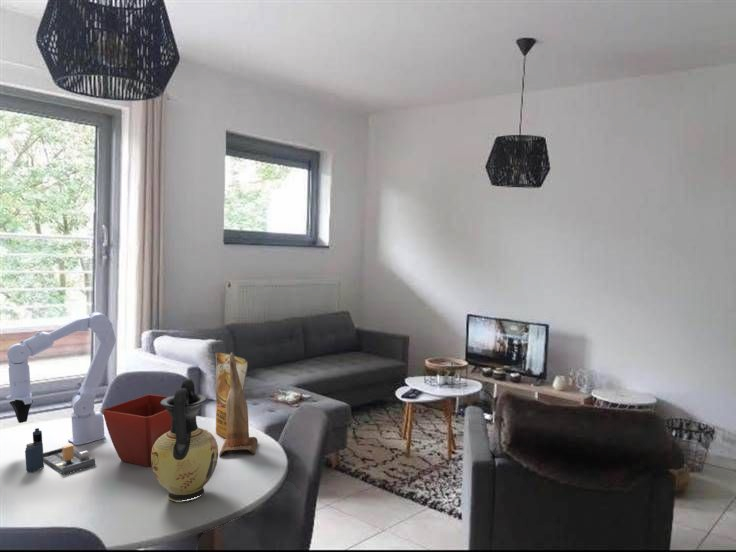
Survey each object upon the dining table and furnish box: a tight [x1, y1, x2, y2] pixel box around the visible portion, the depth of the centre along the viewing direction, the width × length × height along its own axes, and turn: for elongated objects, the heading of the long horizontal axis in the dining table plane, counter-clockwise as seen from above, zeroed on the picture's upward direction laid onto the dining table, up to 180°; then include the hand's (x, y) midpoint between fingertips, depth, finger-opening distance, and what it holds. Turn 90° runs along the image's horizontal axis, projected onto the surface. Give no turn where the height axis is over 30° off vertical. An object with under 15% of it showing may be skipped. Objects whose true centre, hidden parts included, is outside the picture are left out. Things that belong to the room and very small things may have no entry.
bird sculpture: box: [218, 352, 259, 458], centre depth 181 cm, size 11×12×32 cm
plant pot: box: [102, 394, 172, 468], centre depth 177 cm, size 19×19×17 cm
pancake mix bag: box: [214, 352, 249, 440], centre depth 195 cm, size 7×19×28 cm, turn 41°
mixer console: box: [43, 447, 96, 475], centre depth 175 cm, size 9×18×4 cm, turn 48°
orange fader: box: [61, 443, 75, 463], centre depth 172 cm, size 3×2×5 cm
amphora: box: [151, 378, 219, 502], centre depth 149 cm, size 18×17×30 cm
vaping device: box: [24, 428, 45, 473], centre depth 170 cm, size 3×5×12 cm, turn 161°
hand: (22, 421), depth 184 cm, fingers closed
